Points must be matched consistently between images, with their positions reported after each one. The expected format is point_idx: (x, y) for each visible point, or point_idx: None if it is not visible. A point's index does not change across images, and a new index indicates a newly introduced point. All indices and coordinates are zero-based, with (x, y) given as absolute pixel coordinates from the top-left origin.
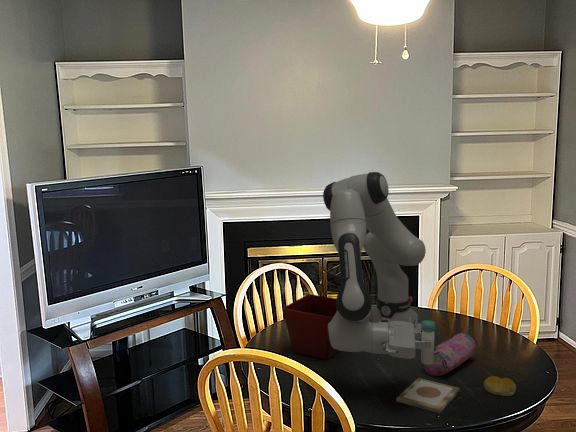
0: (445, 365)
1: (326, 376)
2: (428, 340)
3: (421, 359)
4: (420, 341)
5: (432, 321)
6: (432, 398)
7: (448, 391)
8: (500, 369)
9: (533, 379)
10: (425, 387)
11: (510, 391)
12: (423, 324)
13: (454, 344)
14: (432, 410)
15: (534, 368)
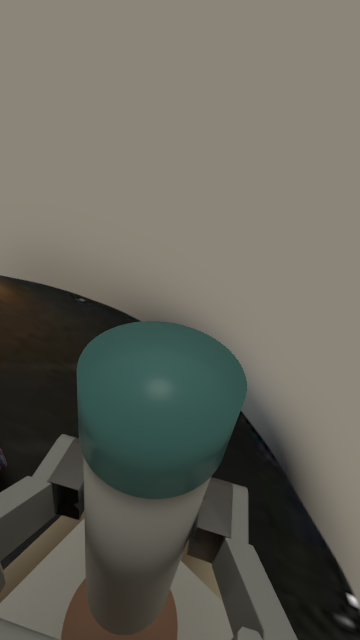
0: (2, 456)
1: None
2: (214, 498)
3: (130, 626)
4: (266, 612)
5: (136, 328)
6: (182, 624)
7: None
8: (32, 343)
9: (101, 322)
10: (71, 625)
11: None
12: (210, 436)
13: None
14: None
15: (59, 305)
